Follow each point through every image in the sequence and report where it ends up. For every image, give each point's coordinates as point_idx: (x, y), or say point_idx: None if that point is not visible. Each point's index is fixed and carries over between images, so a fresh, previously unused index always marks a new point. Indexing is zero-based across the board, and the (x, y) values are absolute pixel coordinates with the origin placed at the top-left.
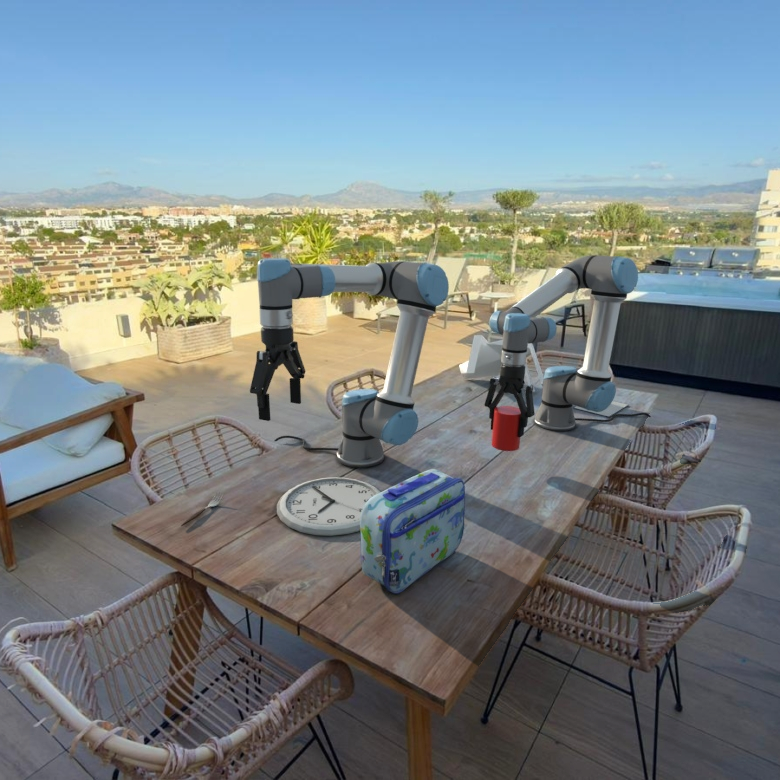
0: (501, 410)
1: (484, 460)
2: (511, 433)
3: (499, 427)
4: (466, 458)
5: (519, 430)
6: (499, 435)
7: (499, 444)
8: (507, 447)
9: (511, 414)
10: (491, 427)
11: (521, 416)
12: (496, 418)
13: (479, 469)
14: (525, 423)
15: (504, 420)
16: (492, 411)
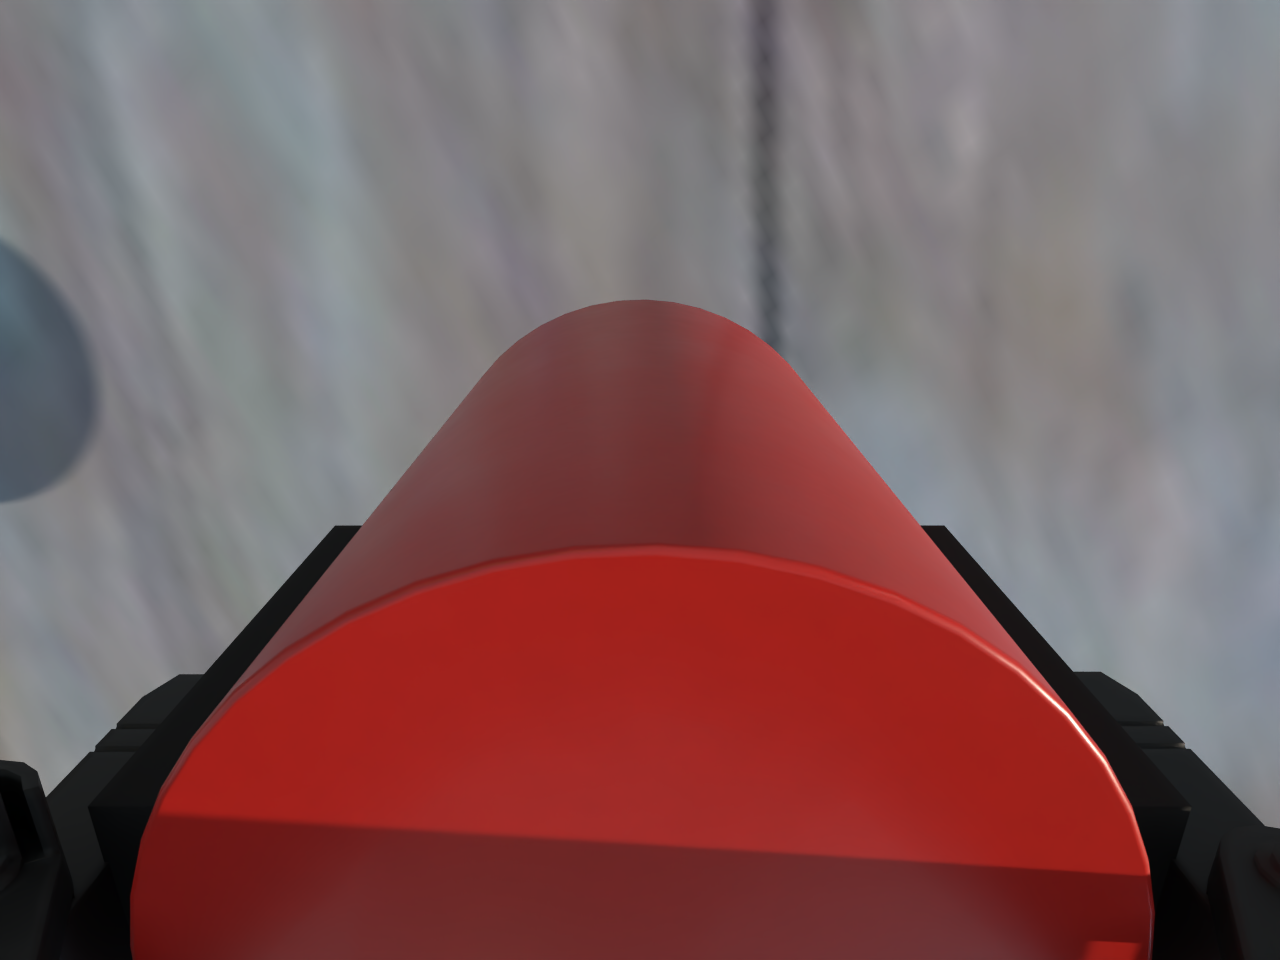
0: (844, 849)
1: (833, 322)
2: (427, 448)
3: (683, 387)
4: (1034, 228)
5: (299, 588)
6: (657, 344)
7: (639, 313)
8: (517, 348)
9: (308, 715)
10: (942, 545)
11: None
12: (853, 496)
13: (773, 47)
14: (98, 743)
15: (542, 465)
16: (1154, 784)
